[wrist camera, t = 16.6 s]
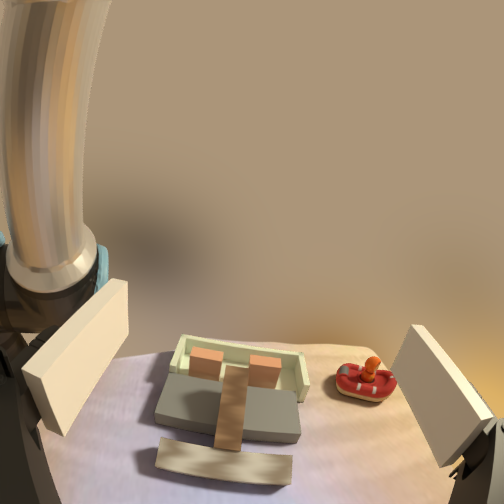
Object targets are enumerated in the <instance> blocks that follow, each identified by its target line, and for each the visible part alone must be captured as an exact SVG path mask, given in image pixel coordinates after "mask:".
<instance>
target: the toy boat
mask: <svg viewBox="0 0 504 504" xmlns="http://www.w3.org/2000/svg"><path fill="white" fill-rule="evenodd" d="M380 363H381V361H380V359H379V358H377V357H370V358H368V359H367V361H366V362H365V367H363V366H359V365H355V364H351V363H346V364H343V365H342V366H340V368H339V369H338V370H337V374H336V387H337V389H338V391H339V392H341V393H342V394H344V395H347V396H351V397H355V398H359V399H363V400H367V401H372V402H379V401H383V400H385V399H387V398H388V397H389V396H390V395H391V394H392V392H393V391H394V389H395V387H396V385H397V381H396V379H395V377H394V375H393V374H392V372H390V371H387V370H377V369H378V367H379V365H380Z"/></svg>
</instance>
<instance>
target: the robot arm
mask: <svg viewBox="0 0 504 504" xmlns="http://www.w3.org/2000/svg"><path fill="white" fill-rule="evenodd" d="M2 1H3V4H4V6H5V8H4V13H3V18H2V23H1V28H0V187H1V193H2V198H3V204H4V208H5V214H6V218H7V223H8V226H9V231H10V235H11V240H10V242H9V244H5V237H4V235H3V233H2V232H1V231H0V504H62V503H61V501H60V498H59V496H58V493H57V490H56V488H55V485H54V482H53V479H52V476H51V473H50V470H49V466H48V463H47V460H46V456H45V453H44V449H43V445H42V441H41V437H40V433H39V429H38V427H37V423H38V422H39V420H40V419H42V421H43V423H44V425H45V427H46V429H48V430H50V431H52V432H55V433H57V434H59V435H61V436H63V437H65V435H66V434H67V432H68V430H69V428H70V427H71V425H72V423H73V422H74V420H75V418H76V416H77V415H78V413H79V411H80V410H81V408H82V406H83V405H84V403H85V401H86V400H87V398H88V397H89V395H90V393H91V392H92V390H93V388H94V387H95V385H96V384H97V382H98V380H99V379H100V377H101V376H102V374H103V372H104V371H105V369H106V368H107V366H108V365H109V363H110V361H111V360H112V358H113V357H114V355H115V354H116V352H117V351H118V349H119V348H120V346H121V345H122V343H123V341H124V340H125V339H126V337H127V335H128V334H129V329H128V298H127V297H128V295H127V294H128V293H127V291H128V290H127V289H128V287H127V281H123V280H118V279H114V278H112V279H111V280H110V281H108V251H107V249H106V247H104V246H101V245H99V244H96V241H95V237H94V235H93V233H92V232H91V230H90V229H89V228H88V227H87V226H86V225H85V224H84V223H83V206H82V205H83V203H82V202H83V201H82V199H83V159H84V143H85V130H86V121H87V113H88V112H87V111H88V105H89V97H90V90H91V84H92V78H93V73H94V67H95V62H96V57H97V53H98V48H99V44H100V40H101V35H102V31H103V28H104V24H105V20H106V17H107V13H108V10H109V6H110V3H111V2H112V0H2ZM21 333H40V334H39V335H38V336H37V337H36V338H35V339H34V340H32V341H31V342H30V343H29V346H28V344H27V343H26V341H25V340H24V338H23V336H22V335H21ZM390 370H391V372H392V374H393V375H394V377H395V379H396V381H397V383H398V385H399V387H400V388H401V390H402V392H403V394H404V396H405V398H406V400H407V402H408V404H409V406H410V408H411V410H412V412H413V414H414V416H415V418H416V420H417V422H418V424H419V426H420V428H421V430H422V432H423V434H424V436H425V438H426V440H427V442H428V444H429V446H430V448H431V450H432V453H433V455H434V457H435V459H436V461H437V463H438V466H439V468H442V467H445V466H448V465H452V464H453V463H454V462H455V461H456V460H457V459H458V458H459V457H460V456H461V455H463V457H464V460H463V461H462V462H461V464H459V466H457V467H456V468H455V469H454V470H453V471H452V472H451V473H450V475H449V477H450V478H451V477H452V476H453V475H454V474H455V473H456V472H458V473H457V475H456V476H455V477H454V478H453V479H455V480H456V481H455V484H454V488H453V491H452V494H451V497H450V500H449V503H448V504H504V418H501V419H499V420H498V419H497V417H496V416H495V415H494V413H493V412H492V410H491V409H490V407H489V406H488V405H487V403H486V402H485V401H484V399H482V397H481V395H480V394H479V393H477V390H476V389H475V387H474V386H473V384H472V383H470V382H469V381H468V380H467V379H466V378H465V377H464V375H463V374H462V373H461V372H460V370H459V369H458V368H457V366H456V365H455V364H454V363H453V361H452V360H451V359H450V358H449V356H448V355H447V354H446V353H445V352H444V350H443V349H442V348H441V347H440V345H439V344H438V343H437V342H436V340H435V339H434V338H433V337H432V336H431V334H430V333H429V332H428V331H427V330H426V329H425V328H424V326H423V325H411V326H410V328H409V330H408V333H407V335H406V337H405V339H404V341H403V344H402V346H401V348H400V350H399V352H398V354H397V356H396V358H395V360H394V363H393V365H392V367H391V369H390Z"/></svg>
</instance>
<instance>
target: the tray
mask: <svg viewBox="0 0 504 504" xmlns="http://www.w3.org/2000/svg"><path fill="white" fill-rule="evenodd" d="M193 346H194V347H199V348H204V349H210V350H215V351H221V352H224V353H223V360H222V366H221V373H220V379H219V382H223V380H224V374H225V368H226V365H230V366H237V367H244V368H247V367H248V363H249V358H250V354H251V355H258V356H266V357H273V358H281V367H282V368H281V372H280V375H279V378H278V381H277V385H276V388H275V389H278V390H288V391H296V398H297V402H304V400H305V397H306V395H307V392H308V390H309V387H310V382H309V377H308V372H307V368H306V363H305V358H304V353H302V352H293V351H285V350H277V349H269V348H262V347H255V346H248V345H241V344H235V343H229V342H223V341H217V340H211V339H206V338H200V337H195V336H190V335H185V334H182V335H181V338H180V340H179V342H178V345H177V347H176V350H175V352H174V355H173V358H172V360H171V363H170V368H169V372H172V373H177V374H181V375H186V376H188V375H189V360H190V354H191V351H192V348H193Z"/></svg>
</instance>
